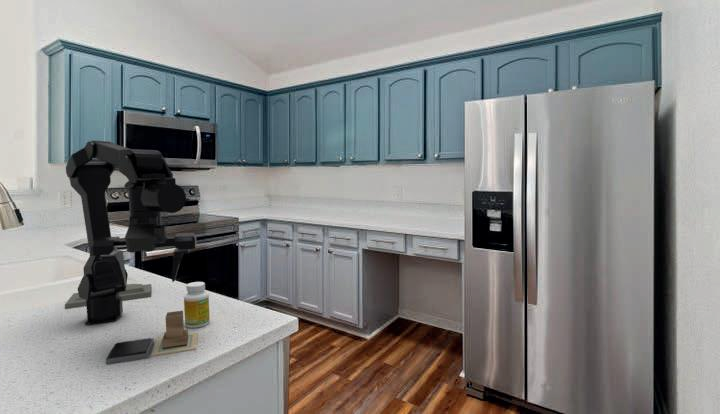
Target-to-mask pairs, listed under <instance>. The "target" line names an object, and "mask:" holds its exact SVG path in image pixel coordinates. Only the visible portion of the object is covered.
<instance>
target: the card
mask: <svg viewBox="0 0 720 414" xmlns="http://www.w3.org/2000/svg"><path fill="white" fill-rule="evenodd" d="M198 335H199V332H191V333H188V343H187V346H183V347H177V348H170V349H164V350H162V339H163V337H157V338H156V342H155V343H154V346H153V348H152V351H151V357H156V356H163V355H169V354H174V353H176V354H177V353H182V352H188V351H194V350H197V345H198Z"/></svg>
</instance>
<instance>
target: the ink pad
mask: <svg viewBox="0 0 720 414" xmlns="http://www.w3.org/2000/svg"><path fill="white" fill-rule="evenodd" d="M154 345H155V340H154V338H153V337H149V338H142V339H134V340H127V341H119V342H116V343H114V344H113V347H112V348H111V350H110V352H109V353H108V354H107V356H106V358H105V365H112V364H119V363H123V362H124V363H125V362H131V361H132V362H133V361H139V360H143V359H149V357H150V356H151V353H152V350H153V348H154Z"/></svg>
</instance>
